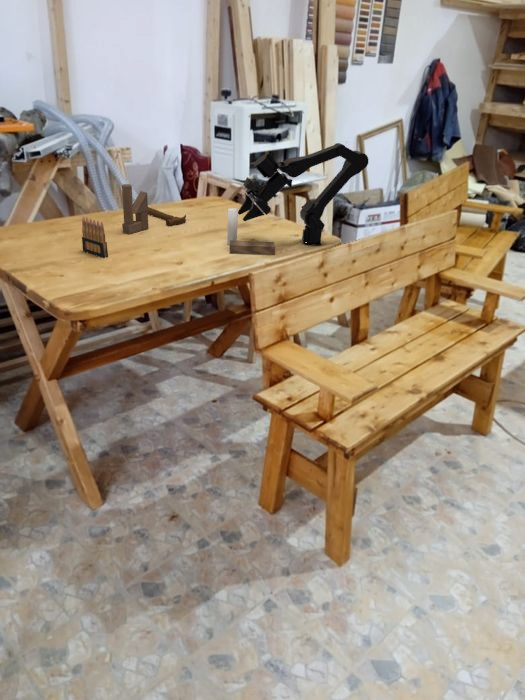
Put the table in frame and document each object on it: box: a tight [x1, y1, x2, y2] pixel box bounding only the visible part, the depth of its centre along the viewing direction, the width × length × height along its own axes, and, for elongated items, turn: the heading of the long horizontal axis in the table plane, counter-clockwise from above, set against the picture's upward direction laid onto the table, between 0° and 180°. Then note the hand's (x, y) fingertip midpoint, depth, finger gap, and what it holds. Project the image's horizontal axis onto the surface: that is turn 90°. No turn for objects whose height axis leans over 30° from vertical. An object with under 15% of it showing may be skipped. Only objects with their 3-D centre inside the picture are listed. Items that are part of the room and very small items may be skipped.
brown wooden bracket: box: [121, 183, 149, 235], centre depth 213 cm, size 4×11×18 cm, turn 147°
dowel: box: [226, 207, 239, 246], centre depth 206 cm, size 4×4×13 cm
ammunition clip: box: [81, 216, 109, 259], centre depth 188 cm, size 11×2×12 cm, turn 56°
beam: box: [229, 239, 276, 256], centre depth 202 cm, size 16×6×3 cm, turn 94°
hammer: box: [148, 206, 187, 227], centre depth 237 cm, size 12×3×30 cm
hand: (240, 217), depth 205 cm, fingers open, 9 cm apart
